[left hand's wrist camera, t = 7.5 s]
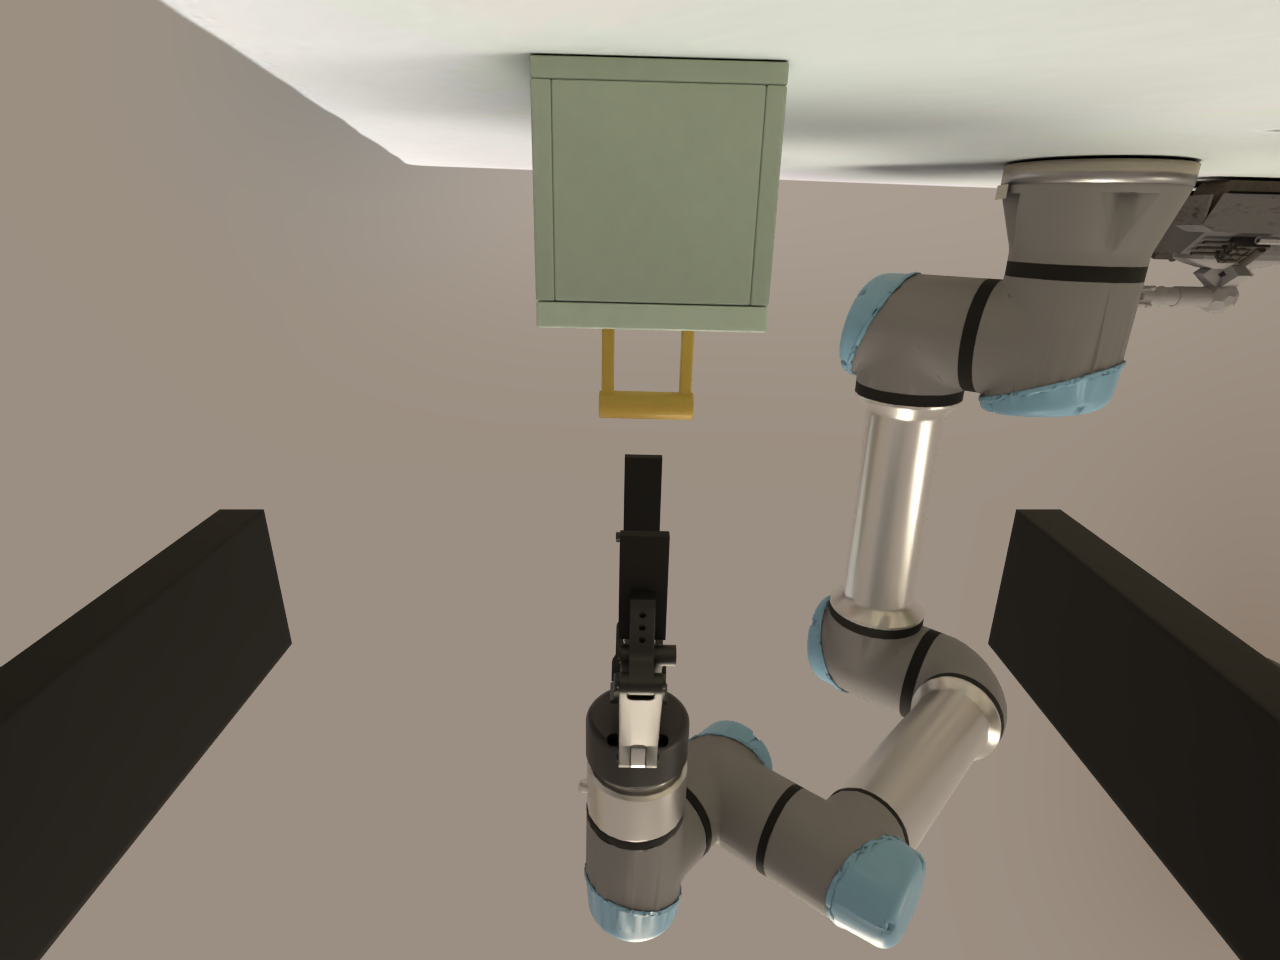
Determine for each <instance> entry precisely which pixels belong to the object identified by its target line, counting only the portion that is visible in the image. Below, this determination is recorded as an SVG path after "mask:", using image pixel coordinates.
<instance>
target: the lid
mask: <svg viewBox="0 0 1280 960" xmlns="http://www.w3.org/2000/svg"><path fill="white" fill-rule="evenodd" d="M536 313H537V326H538V327H557V328H598V329H602V391H600V392H599V417H600V418H633V419H676V420H691V419H692V417H693V393H691V382H692V362H693V342H694V331H721V332H763V333H764V332H766V329H767V317H768V308H767V307H766V306H752V305H750V304H749V305H710V304H670V303H629V302H588V301H557V300H554V301H545V300H539V301H538V302H537V303H536ZM614 329H640V330H680V331H682V334H681V356H680V379H679V392H643V391H614Z"/></svg>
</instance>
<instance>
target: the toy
mask: <svg viewBox="0 0 1280 960" xmlns="http://www.w3.org/2000/svg"><path fill="white" fill-rule="evenodd" d="M1151 258H1153V259H1169V261H1171V262H1172V261H1175V260H1177V261H1180V262H1183V263H1186V264H1189V265H1192V266H1195V267H1200V269H1198V270H1197V271H1195V272H1194V275H1195V276H1196V277H1197V278H1198V279H1199V280H1200V281H1201V282H1202V284H1203V285H1204V286H1203V287H1180V286H1175V287H1164V286H1159V287H1156V286H1144V285H1143V289H1142V292H1141V296H1140V300H1139V303H1138V306H1145V307H1146V308H1150V307H1151V306H1152V305H1155V306H1161V305H1168V306H1173V307H1200V308H1201V309H1203V310H1204V311H1206V312H1209V313H1221V312H1224V311H1227V310H1229V309H1230V308H1231V307H1233V306H1234V305H1235V303H1236V302H1237V300H1238V297H1239V292H1238V290H1237V288H1236V286H1238V285H1239V284H1241V283H1243V282H1244V281H1245V280H1247V279H1249V278H1250V277H1252V276H1253V275H1254V274H1253V273H1252V272H1251V271H1250V270H1249V269H1257V268H1262V267H1267V266H1272V265H1276V264H1279V263H1280V181H1247V180H1226V181H1212V182H1203V183H1202V184H1200V185H1199V186H1198V187H1197V189H1196V190H1195V191H1192V192H1191V193H1190V195H1189V196H1188V198H1187V200H1186V201H1185V203H1184V204H1183V206H1182V207H1181V209H1180V211H1179V212H1178V214H1177V215H1176V217H1175V218H1174V220H1173V222H1172V223H1171V225H1170V226H1169V228H1168V229H1167V231H1166V233H1165V234H1164V236H1163V237H1162V239H1161V241H1160V242H1159V244H1158V245H1157V247H1156V248H1155V250H1154V252H1153V254H1152V256H1151Z"/></svg>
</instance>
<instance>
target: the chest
mask: <svg viewBox="0 0 1280 960" xmlns="http://www.w3.org/2000/svg"><path fill="white" fill-rule="evenodd" d="M788 69H789V63H788V62H770V61H734V60H698V59H661V58H625V57H589V56H553V55H531V56H530V76H531V78H532V79H531V80H530V86H531V125H532V163H533V200H534V240H535V278H536V300H545V301H554V300H557V301H588V302H629V303H670V304H710V305H749V304H750V305H752V306H767V305H768V304H769V293H770V282H771V270H772V258H773V246H774V234H775V222H776V211H777V199H778V187H779V175H780V163H781V152H782V140H783V128H784V116H785V104H786V93H787V87H786V85H787V81H788Z"/></svg>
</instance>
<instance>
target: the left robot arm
mask: <svg viewBox="0 0 1280 960" xmlns="http://www.w3.org/2000/svg"><path fill="white" fill-rule="evenodd" d="M291 644H292V642H291V637H290V632H289V628H288V623H287V618H286V613H285V609H284V604H283V599H282V594H281V590H280V585H279V580H278V575H277V571H276V566H275V561H274V556H273V551H272V547H271V542H270V537H269V532H268V528H267V523H266V518H265V513H264V510H219V511H217V512H216V513H214V514H213V515H211V516H210V517H209V518H207V519H206V520H205V521H203V522H202V523H200V524H199V525H198V526H196V527H195V528H193V529H192V530H191V531H189V532H188V533H186V534H185V535H184V536H182V537H181V538H180V539H178V540H177V541H175V542H174V543H173V544H171V545H170V546H169V547H167V548H166V549H164V550H163V551H161V552H160V553H159V554H157V555H156V556H155V557H153V558H152V559H150V560H149V561H148V562H146V563H145V564H143V565H142V566H141V567H139V568H138V569H137V570H135V571H134V572H132V573H131V574H130V575H128V576H127V577H125V578H124V579H123V580H121V581H120V582H118V583H117V584H116V585H114V586H113V587H111V588H110V589H109V590H107V591H106V592H105V593H103V594H102V595H100V596H99V597H98V598H96V599H95V600H93V601H92V602H91V603H89V604H88V605H87V606H85V607H84V608H82V609H81V610H80V611H78V612H77V613H75V614H74V615H73V616H71V617H70V618H68V619H67V620H66V621H64V622H63V623H62V624H60V625H59V626H57V627H56V628H55V629H53V630H52V631H50V632H49V633H48V634H46V635H45V636H43V637H42V638H41V639H39V640H38V641H37V642H35V643H34V644H32V645H31V646H30V647H28V648H27V649H25V650H24V651H23V652H21V653H20V654H18V655H17V656H16V657H14V658H13V659H12V660H10V661H9V662H7V663H6V664H5V665H3V666H1V667H0V960H40V959H41V958H42V957H43V955H44V954H45V953H46V952H47V950H48V949H49V948H50V947H51V945H52V944H53V943H54V941H55V940H56V939H57V938H58V937H59V935H60V934H61V933H62V931H63V930H64V929H65V928H66V926H67V925H68V924H69V923H70V921H71V920H72V919H73V918H74V916H75V915H76V914H77V913H78V911H79V910H80V909H81V908H82V906H83V905H84V904H85V903H86V901H87V900H88V899H89V898H90V896H91V895H92V894H93V893H94V891H95V890H96V889H97V887H98V886H99V885H100V884H101V883H102V881H103V880H104V879H105V878H106V876H107V875H108V874H109V873H110V871H111V870H112V869H113V867H114V866H115V865H116V864H117V862H118V861H119V860H120V859H121V857H122V856H123V855H124V854H125V852H126V851H127V850H128V849H129V847H130V846H131V845H132V844H133V842H134V841H135V840H136V839H137V837H138V836H139V835H140V834H141V832H142V831H143V830H144V829H145V827H146V826H147V825H148V824H149V822H150V821H151V820H152V819H153V817H154V816H155V815H156V814H157V812H158V811H159V810H160V809H161V807H162V806H163V805H164V803H165V802H166V801H167V800H168V798H169V797H170V796H171V795H172V793H173V792H174V791H175V790H176V788H177V787H178V786H179V785H180V783H181V782H182V781H183V780H184V778H185V777H186V776H187V775H188V773H189V772H190V771H191V770H192V768H193V767H194V766H195V764H196V763H197V762H198V761H199V760H200V758H201V757H202V756H203V755H204V753H205V752H206V751H207V750H208V748H209V747H210V746H211V745H212V743H213V742H214V741H215V739H216V738H217V737H218V736H219V734H220V733H221V732H222V731H223V729H224V728H225V727H226V726H227V724H228V723H229V722H230V721H231V719H232V718H233V717H234V716H235V714H236V713H237V712H238V711H239V709H240V708H241V707H242V706H243V704H244V703H245V702H246V701H247V699H248V698H249V697H250V696H251V694H252V693H253V692H254V690H255V689H256V688H257V687H258V685H259V684H260V683H261V682H262V681H263V679H264V678H265V677H266V676H267V674H268V673H269V672H270V670H271V669H272V668H273V667H274V665H275V664H276V663H277V662H278V660H279V659H280V658H281V657H282V655H283V654H284V653H285V652H286V650H287V649H288V648H289V647H290V645H291ZM988 644H989V645H990V647H991V648H992V649H993V650H994V652H995V653H996V654H997V655H998V657H999V658H1000V659H1001V660H1002V662H1003V663H1004V664H1005V665H1006V667H1007V668H1008V669H1009V671H1010V672H1011V673H1012V674H1013V675H1014V677H1015V678H1016V679H1017V681H1018V682H1019V683H1020V684H1021V685H1022V687H1023V688H1024V689H1025V691H1026V692H1027V693H1028V694H1029V696H1030V697H1031V698H1032V699H1033V701H1034V702H1035V703H1036V704H1037V706H1038V707H1039V708H1040V709H1041V711H1042V712H1043V713H1044V714H1045V716H1046V717H1047V718H1048V719H1049V721H1050V722H1051V723H1052V724H1053V726H1054V727H1055V728H1056V729H1057V731H1058V732H1059V733H1060V734H1061V736H1062V737H1063V738H1064V740H1065V741H1066V742H1067V743H1068V745H1069V746H1070V747H1071V748H1072V750H1073V751H1074V752H1075V753H1076V755H1077V756H1078V757H1079V758H1080V760H1081V761H1082V762H1083V763H1084V765H1085V766H1086V767H1087V768H1088V770H1089V771H1090V772H1091V773H1092V775H1093V776H1094V777H1095V778H1096V780H1097V781H1098V782H1099V783H1100V785H1101V786H1102V787H1103V788H1104V790H1105V791H1106V792H1107V793H1108V795H1109V796H1110V797H1111V798H1112V800H1113V801H1114V802H1115V803H1116V805H1117V806H1118V807H1119V808H1120V810H1121V811H1122V812H1123V814H1124V815H1125V816H1126V817H1127V819H1128V820H1129V821H1130V822H1131V824H1132V825H1133V826H1134V827H1135V829H1136V830H1137V831H1138V832H1139V834H1140V835H1141V836H1142V837H1143V839H1144V840H1145V841H1146V842H1147V844H1148V845H1149V846H1150V847H1151V849H1152V850H1153V851H1154V852H1155V854H1156V855H1157V856H1158V857H1159V859H1160V860H1161V861H1162V862H1163V864H1164V865H1165V866H1166V867H1167V869H1168V870H1169V871H1170V873H1171V874H1172V875H1173V876H1174V878H1175V879H1176V880H1177V881H1178V882H1179V884H1180V885H1181V886H1182V888H1183V889H1184V890H1185V891H1186V893H1187V894H1188V895H1189V896H1190V898H1191V899H1192V900H1193V901H1194V903H1195V904H1196V905H1197V906H1198V908H1199V909H1200V910H1201V911H1202V913H1203V914H1204V915H1205V916H1206V918H1207V919H1208V920H1209V921H1210V923H1211V924H1212V925H1213V926H1214V928H1215V929H1216V930H1217V931H1218V933H1219V934H1220V935H1221V936H1222V938H1223V939H1224V940H1225V942H1226V943H1227V944H1228V945H1229V947H1230V948H1231V949H1232V950H1233V952H1234V953H1235V954H1236V955H1237V957H1238V958H1239V959H1240V960H1280V664H1279V663H1277V662H1275V661H1273V660H1271V659H1268V658H1266V657H1264V656H1263V655H1262V654H1260V653H1259V652H1257V651H1256V650H1255V649H1253V648H1252V647H1250V646H1249V645H1248V644H1246V643H1245V642H1243V641H1242V640H1241V639H1239V638H1238V637H1237V636H1235V635H1234V634H1232V633H1231V632H1230V631H1228V630H1227V629H1225V628H1224V627H1223V626H1221V625H1220V624H1218V623H1217V622H1216V621H1214V620H1213V619H1212V618H1210V617H1209V616H1207V615H1206V614H1205V613H1203V612H1202V611H1200V610H1199V609H1198V608H1196V607H1195V606H1193V605H1192V604H1191V603H1189V602H1188V601H1187V600H1185V599H1184V598H1182V597H1181V596H1180V595H1178V594H1177V593H1175V592H1174V591H1173V590H1171V589H1170V588H1168V587H1167V586H1166V585H1164V584H1163V583H1161V582H1160V581H1159V580H1157V579H1156V578H1155V577H1153V576H1152V575H1150V574H1149V573H1148V572H1146V571H1145V570H1144V569H1142V568H1141V567H1139V566H1138V565H1137V564H1135V563H1134V562H1132V561H1131V560H1130V559H1128V558H1127V557H1125V556H1124V555H1123V554H1121V553H1120V552H1118V551H1117V550H1116V549H1114V548H1113V547H1111V546H1110V545H1109V544H1107V543H1106V542H1105V541H1103V540H1102V539H1100V538H1099V537H1098V536H1096V535H1095V534H1094V533H1092V532H1091V531H1089V530H1088V529H1087V528H1085V527H1084V526H1082V525H1081V524H1080V523H1078V522H1077V521H1075V520H1074V519H1073V518H1071V517H1070V516H1069V515H1067V514H1066V513H1064V512H1063V511H1062V510H1016V513H1015V518H1014V523H1013V528H1012V532H1011V537H1010V542H1009V547H1008V552H1007V556H1006V561H1005V566H1004V570H1003V575H1002V580H1001V585H1000V590H999V595H998V599H997V604H996V609H995V613H994V618H993V623H992V628H991V632H990V637H989V642H988Z"/></svg>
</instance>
